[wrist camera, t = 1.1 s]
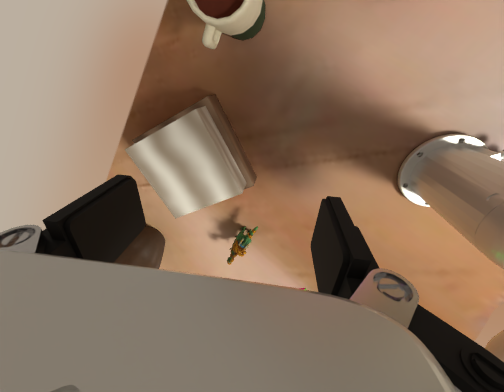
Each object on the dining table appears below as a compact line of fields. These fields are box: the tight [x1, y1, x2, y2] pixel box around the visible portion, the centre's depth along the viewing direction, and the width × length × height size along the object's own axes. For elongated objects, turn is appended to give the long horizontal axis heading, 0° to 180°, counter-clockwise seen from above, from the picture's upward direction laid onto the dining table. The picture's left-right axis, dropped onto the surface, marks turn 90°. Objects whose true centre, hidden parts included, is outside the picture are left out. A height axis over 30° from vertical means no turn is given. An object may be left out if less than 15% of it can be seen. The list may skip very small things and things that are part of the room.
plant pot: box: [114, 227, 165, 269], centre depth 47 cm, size 15×15×16 cm
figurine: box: [227, 226, 258, 265], centre depth 45 cm, size 3×12×8 cm, turn 148°
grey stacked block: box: [125, 95, 257, 218], centre depth 37 cm, size 16×16×8 cm
